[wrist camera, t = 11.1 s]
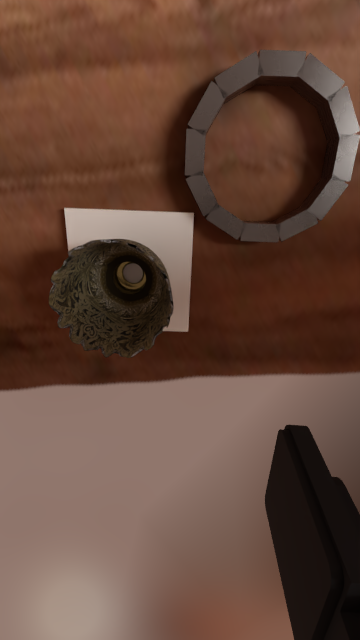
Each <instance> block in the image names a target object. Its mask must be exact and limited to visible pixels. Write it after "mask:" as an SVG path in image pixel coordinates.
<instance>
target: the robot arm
mask: <svg viewBox="0 0 360 640" xmlns="http://www.w3.org/2000/svg"><path fill="white" fill-rule="evenodd" d="M265 506H266V512H267V517H268V521H269V526H270V530H271V535H272V539H273V544H274V548H275V553H276V558H277V562H278V567H279V572H280V576H281V581H282V585H283V589H284V594H285V599H286V604H287V608H288V612H289V617H290V622H291V626H292V631H293V635H294V640H360V514H359V512H358V510H357V508H356V506H355V504H354V502H353V501H352V499H351V497H350V494H349V493H348V491H347V488H346V487H345V485H344V483H343V482H342V480H340V479H339V478H338V477H332V476H331V474H330V472H329V470H328V468H327V466H326V464H325V461H324V459H323V457H322V455H321V453H320V451H319V449H318V447H317V445H316V442H315V440H314V438H313V436H312V434H311V432H310V430H309V428H308V427H307V426H298V425H286V426H285V429H284V430H279V431H278V435H277V440H276V445H275V450H274V455H273V460H272V465H271V470H270V474H269V479H268V484H267V489H266V494H265Z"/></svg>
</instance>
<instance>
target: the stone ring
mask: <svg viewBox="0 0 360 640" xmlns="http://www.w3.org/2000/svg"><path fill="white" fill-rule="evenodd" d="M305 57H306V51H278V50H260V51H259V53H258V55H257V52H256V51H255V52H254V53H252V54H251V55H249V56H248V57H246V58H244V59H243V60H241V61H240V62H238V63H237V64H235V65H233V66H232V67H230V68H229V69H227V70H226V71H224V72H222V73H221V74H219V75H218V76H216V77H215V78H214V82H212V81H211V83H210V85H209V86H208V88H207V90H206V92H205V94H204V96H203V97H202V99H201V101H200V103H199V105H198V106H197V108H196V110H195V112H194V114H193V116H192V117H191V119H190V121H189V123H188V129H186V156H185V176H190V177H188V178H187V179H186V182H187V184H188V186H189V188H190V190H191V192H192V194H193V196H194V198H195V200H196V202H197V204H198V206H199V208H200V211H201V213H202V215H203V216H205V218H206V219H207V220H208V221H210V222H211V223H213V224H214V225H216V226H217V227H219V228H220V229H222V230H223V231H225V232H226V233H228V234H229V235H231V236H232V237H234V238H235V239H237V240H238V239H239V240H240V241H254V242H278V241H279V240H280V241H281V242H282V241H284V240H286V239H288V238H290V237H292V236H294V235H296V234H298V233H300V232H302V231H304V230H306V229H308V228H310V227H312V226H314V225H316V224H318V221H317V220H320V221H321V220H322V219H323V218H324V216H325V215H326V214H327V212H328V211H329V210H330V209H331V207H332V206H333V205H334V203H335V202H336V201H337V199H338V198H339V197H340V195H341V194H342V193H343V191H344V190H345V189H346V188H347V186H348V184H346V183H345V182H346V181H350V180H351V175H352V170H353V166H354V161H355V156H356V152H357V147H358V142H359V138H360V135H353V134H355V133H357V132H358V131H360V129H359V126H358V122H357V119H356V115H355V112H354V108H353V105H352V101H351V98H350V94H349V91H348V87H347V86H345V87H344V88H342V89H340V88H341V87H342V85H343V84H344V81H343V80H342V79H341V78H339V77H338V76H337V75H336V74H335V73H333V72H332V71H331V70H330V69H329V68H328V67H326V66H325V65H324V64H323V63H322V62H320V61H319V60H318V59H317V58H316V57H314V56H313V55H312V54H311V53H310V54H309V55H308V56H307V57H306V58H305ZM254 85H268V86H290V87H291V88H293V89H294V90H295V91H296V92H298V93H299V94H300V95H301V96H303V97H304V98H305V99H306V100H308V101H309V102H310V103H311V104H313V105H314V106H315V107H316V108H317V110H318V113H319V116H320V120H321V123H322V126H323V129H324V132H325V135H326V138H327V141H328V144H327V149H326V155H325V160H324V165H323V171H322V176H321V179H320V181H319V182H318V183H317V185H316V186H315V187H314V189H313V190H312V192H311V193H310V194H309V196H308V197H307V198H306V200H305V201H304V203H303V204H302V205H301V207H299V208H297V209H295V210H293V211H291V212H290V213H288V214H286V215H284V216H282V217H280V218H278V219H276V220H274V221H272V222H261V221H241V220H240V219H238V218H237V217H236V216H234V215H233V214H231V213H230V212H228V211H227V210H225V209H224V208H222V207H221V206H219V205H218V203H217V201H216V199H215V197H214V194H213V192H212V190H211V188H210V186H209V183H208V181H207V179H206V177H205V175H204V173H203V171H204V154H205V136H206V134H207V132H208V130H209V128H210V127H211V125H212V123H213V121H214V120H215V118H216V116H217V114H218V113H219V111H220V109H221V107H222V106H223V104H225V103H226V102H228V101H230V100H231V99H233V98H235V97H236V96H238V95H239V94H241V93H243V92H244V91H246V90H248V89H249V88H251V87H252V86H254Z"/></svg>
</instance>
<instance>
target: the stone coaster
mask: <svg viewBox="0 0 360 640" xmlns="http://www.w3.org/2000/svg"><path fill="white" fill-rule="evenodd" d="M64 211H65V222H66V232H67V243H68V252H69V251H70V250H71V249H73V248H75V247H77V246H81V245H83V244H85V243H87V242H90V241H93V240H102V239H105V240H107V239H127V240H132V241H136V242H138V243H141V244H143V245H145V246H146V247H148V248H149V249H151V250H152V251H153V252H154V253H155V254H156V255H157V256H158V257H159V258H160V260H161V261H162V263H163V264H164V266H165V268H166V271H167V273H168V276H169V280H170V285H171V291H172V298H173V304H174V308H173V314H172V316H171V317H170V323H169V326H168V328H167V326H166V327H164V329H163V331H180V332H188V326H189V305H190V285H191V264H192V243H193V223H194V212H171V211H145V210H118V209H92V208H64ZM123 275H124V278H125V279H126V280H127V281H128V282H131V283H137V282H139V281H140V280H141V279H142V277H143V271H142V269H141V267H140V266H139V265H137V264H133V263H132V264H128V265H127V266H125V268H124V270H123Z"/></svg>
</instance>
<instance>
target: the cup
mask: <svg viewBox="0 0 360 640" xmlns="http://www.w3.org/2000/svg"><path fill="white" fill-rule="evenodd" d="M68 254H69V257H68V258H67V259H66V260H65V261H64V264H63V265H62V267H61V268H60V269H59V270H57V271H54V273H53V275H52V277H51V282H52V283H53V286H52V288H51V290H50V294H49V305H50V307H51V308H52V309H53V310H54V311H56V312H57V313H58V314H59V315H60V317H59V319H58V322H57V323H58V327H59V328H67V326H70V332H69V337H70V339H71V341H72V342H73V343H76V344H82V346H83V349H84V350H85V351H88V350H98V349H99V348H101V350H102V353H103V355H104V356H105V357H109V356H110V355H112V354H113V353H117V354H119V355H120V356H122V357H127V358H131V357H133V356H135V355H136V354H138V353H139V352H141V351H142V350H144V349H145V350H148V349H150V348H151V347H152V346H153V345H154V341H155V338H156V337H157V336H158V335H159V334H160V333H162V331H163V329H164V327H166V326H167V328H168V326H169V323H170V317H171V316H172V314H173V308H174V304H173V298H172V291H171V285H170V280H169V276H168V273H167V271H166V268H165V266H164V264H163V263H162V261H161V260H160V258H159V257H158V256H157V255H156V254H155V253H154V252H153V251H152V250H151V249H149V248H148V247H146V246H145V245H143V244H141V243H138V242H136V241H132V240H127V239H107V240H105V239H102V240H93V241H90V242H87V243H85V244H83V245H81V246H77V247H75V248H73V249H71V250H70V251H69V252H68ZM132 263H133V264H137V265H139V266H140V267H141V269H142V271H143V277H142V279H141V280H140V281H139V282H137V283H131V282H128V281H127V280H126V279H125V278H124V275H123V270H124V268H125V266H127V265H128V264H132Z"/></svg>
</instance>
